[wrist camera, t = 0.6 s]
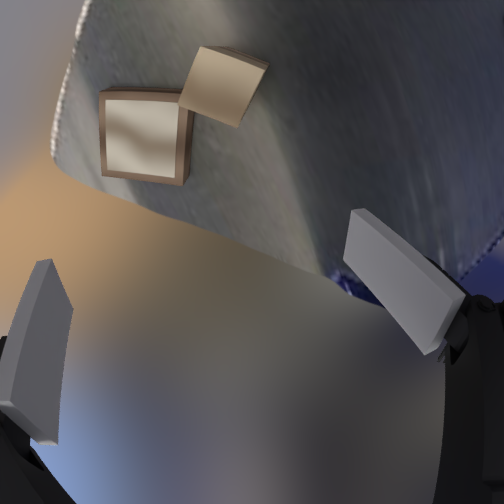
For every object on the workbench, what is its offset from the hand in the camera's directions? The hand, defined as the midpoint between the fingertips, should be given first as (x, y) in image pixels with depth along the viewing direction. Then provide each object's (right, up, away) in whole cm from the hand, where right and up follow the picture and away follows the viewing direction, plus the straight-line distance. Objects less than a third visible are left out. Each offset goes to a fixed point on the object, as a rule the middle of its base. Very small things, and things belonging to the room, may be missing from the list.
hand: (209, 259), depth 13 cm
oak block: (0, +20, +17) cm, 26 cm away
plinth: (-11, +15, +21) cm, 28 cm away
